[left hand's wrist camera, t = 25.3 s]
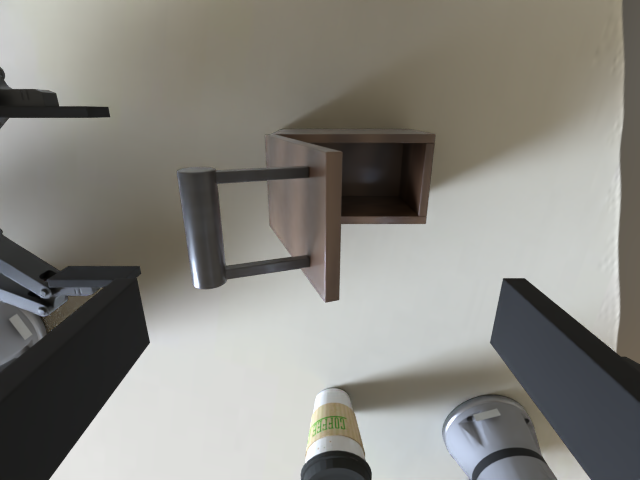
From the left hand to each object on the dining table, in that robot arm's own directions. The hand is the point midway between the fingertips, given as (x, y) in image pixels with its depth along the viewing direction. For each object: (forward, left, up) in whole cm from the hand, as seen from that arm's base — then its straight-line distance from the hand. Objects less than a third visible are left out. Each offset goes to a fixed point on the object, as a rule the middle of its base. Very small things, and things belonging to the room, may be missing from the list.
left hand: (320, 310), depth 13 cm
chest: (0, -3, -36) cm, 36 cm away
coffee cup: (-40, -5, -36) cm, 54 cm away
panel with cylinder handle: (0, +2, -17) cm, 17 cm away
